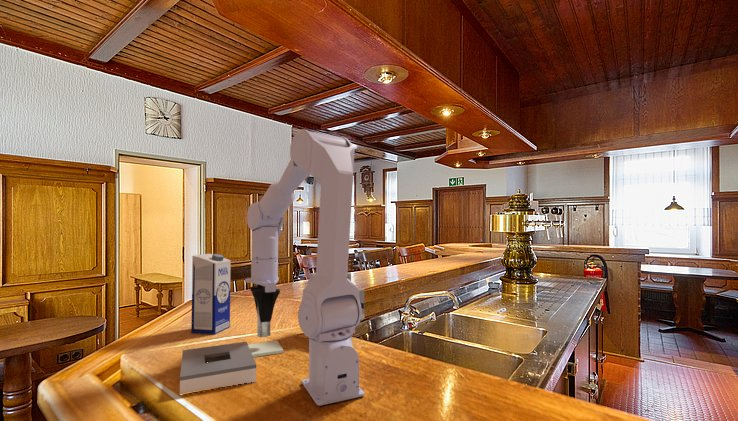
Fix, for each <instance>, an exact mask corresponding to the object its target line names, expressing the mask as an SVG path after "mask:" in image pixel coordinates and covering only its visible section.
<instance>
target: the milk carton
mask: <svg viewBox="0 0 738 421" xmlns="http://www.w3.org/2000/svg"><path fill="white" fill-rule="evenodd" d="M191 258H192V265H191V266H192V268H191V324H190V325H191V329H190V332H191V334H197V335H198V334H199V335H200V334H201V335H216V334H219V333H220V332H223V331H225V330H227V329H229V328H230V327H231V269H232V268H231V262H232V260H230V259H228V258H226V257H225V256H224V255H223V254H218V253H213V254H212V253H203V254H193V255H192V257H191Z"/></svg>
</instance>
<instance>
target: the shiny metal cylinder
mask: <svg viewBox="0 0 738 421" xmlns="http://www.w3.org/2000/svg"><path fill="white" fill-rule="evenodd" d="M256 314H257V315H256V316H257V320H256V321H257V323H256V324H257V325H256V327H257V329H256V331H257V332H256V333H257V335H256V336H257V338H267V337H270V336H271V321H272V320H271V321H270V322H261V321H260V317H259V311H258V313H257V312H256Z"/></svg>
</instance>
